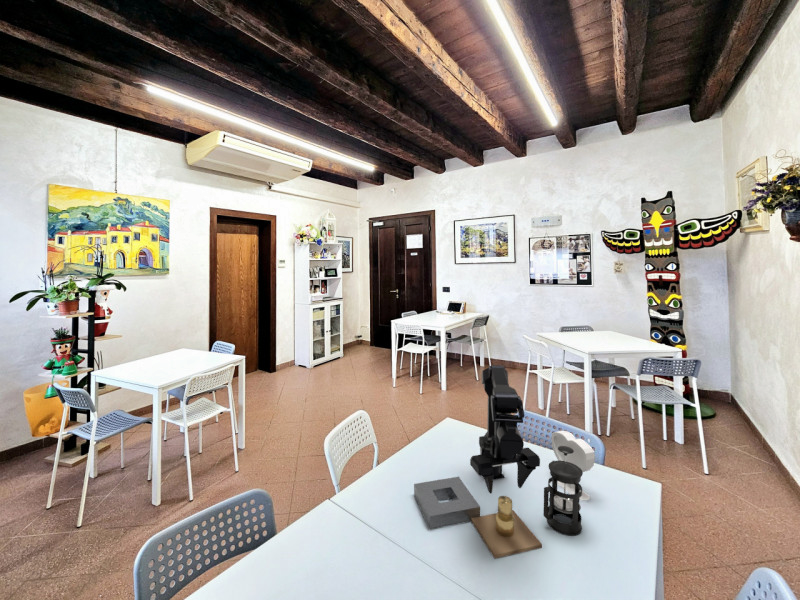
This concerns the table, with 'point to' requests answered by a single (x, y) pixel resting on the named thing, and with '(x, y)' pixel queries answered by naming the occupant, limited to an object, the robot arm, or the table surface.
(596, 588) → the table surface
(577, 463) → the heart sculpture
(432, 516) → the plate
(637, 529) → the table surface
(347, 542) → the table surface
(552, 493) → the french press
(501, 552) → the board
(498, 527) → the knob
